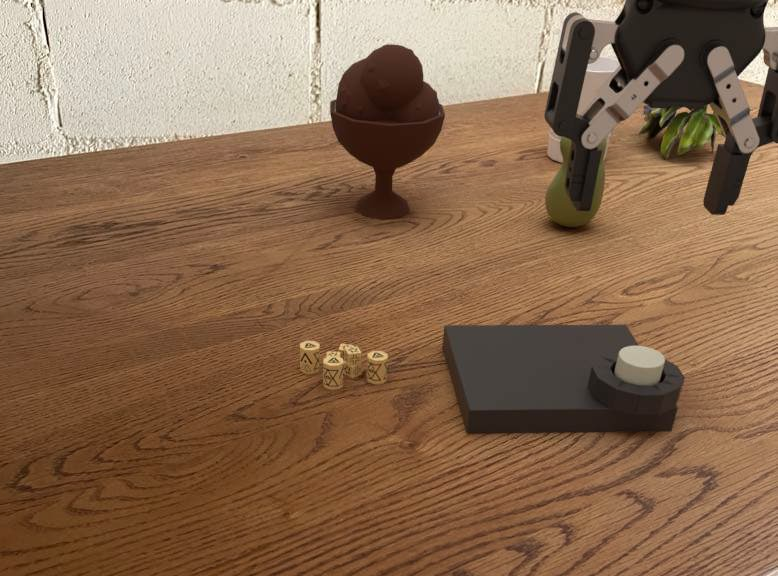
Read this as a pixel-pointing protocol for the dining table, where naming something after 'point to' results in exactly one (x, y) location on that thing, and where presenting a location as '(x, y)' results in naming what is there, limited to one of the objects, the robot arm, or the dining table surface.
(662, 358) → the button
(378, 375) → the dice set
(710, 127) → the passion flower
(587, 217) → the pear
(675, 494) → the dining table surface
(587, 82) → the white cup
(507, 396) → the scale
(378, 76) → the ice cream bowl
